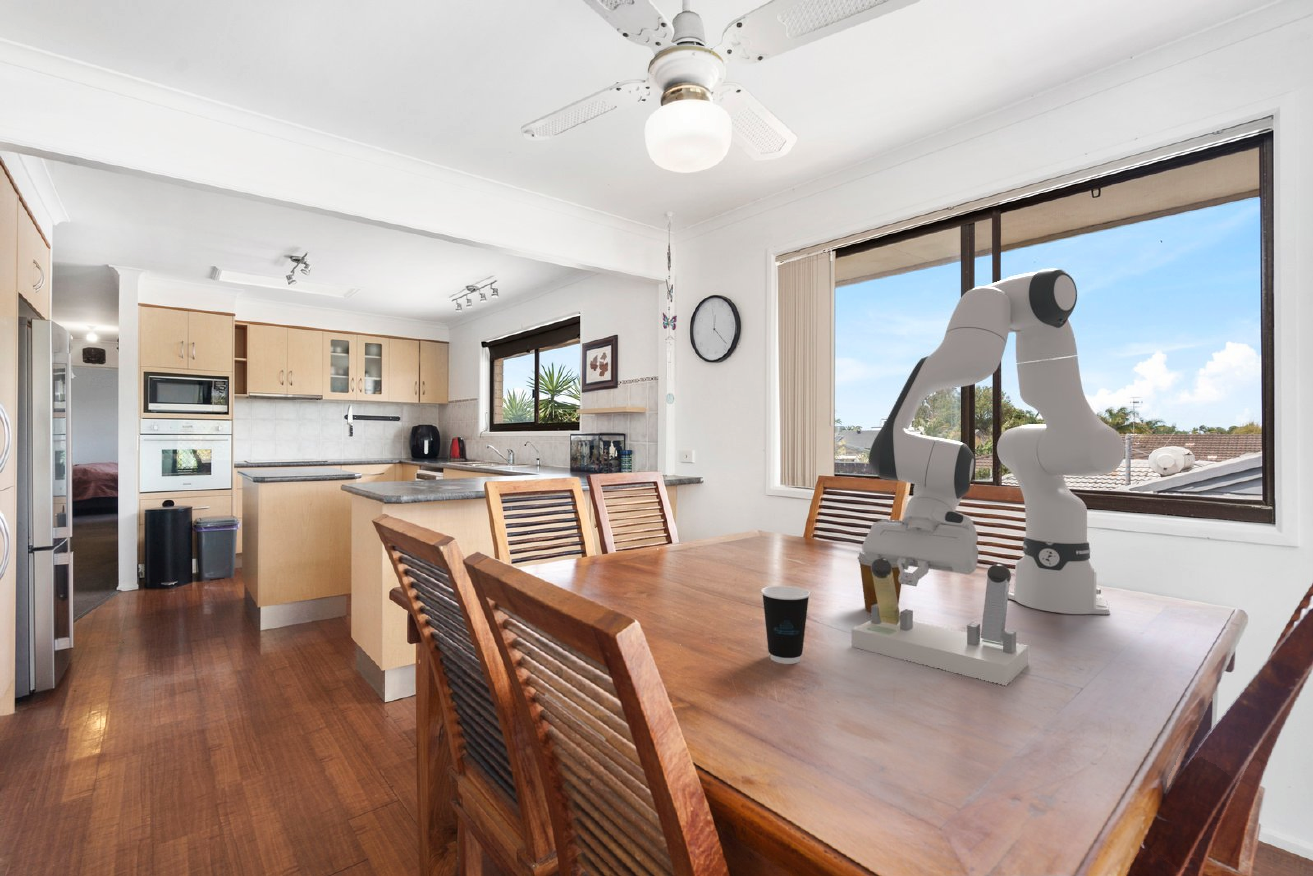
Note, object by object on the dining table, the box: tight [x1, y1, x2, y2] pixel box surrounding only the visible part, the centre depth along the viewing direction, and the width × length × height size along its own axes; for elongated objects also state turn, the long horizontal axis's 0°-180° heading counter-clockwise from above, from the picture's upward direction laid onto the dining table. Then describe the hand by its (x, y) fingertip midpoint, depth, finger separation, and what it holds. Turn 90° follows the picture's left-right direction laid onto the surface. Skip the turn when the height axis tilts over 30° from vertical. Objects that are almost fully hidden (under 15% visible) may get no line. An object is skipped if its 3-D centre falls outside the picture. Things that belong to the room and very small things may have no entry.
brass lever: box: [871, 558, 901, 625], centre depth 107 cm, size 3×3×12 cm
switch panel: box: [851, 604, 1029, 687], centre depth 103 cm, size 12×24×6 cm, turn 46°
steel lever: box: [980, 563, 1012, 643], centre depth 99 cm, size 3×3×12 cm
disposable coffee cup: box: [857, 549, 902, 613], centre depth 129 cm, size 10×10×12 cm
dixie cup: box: [760, 585, 811, 665], centre depth 101 cm, size 8×8×11 cm
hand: (906, 583), depth 113 cm, fingers closed
